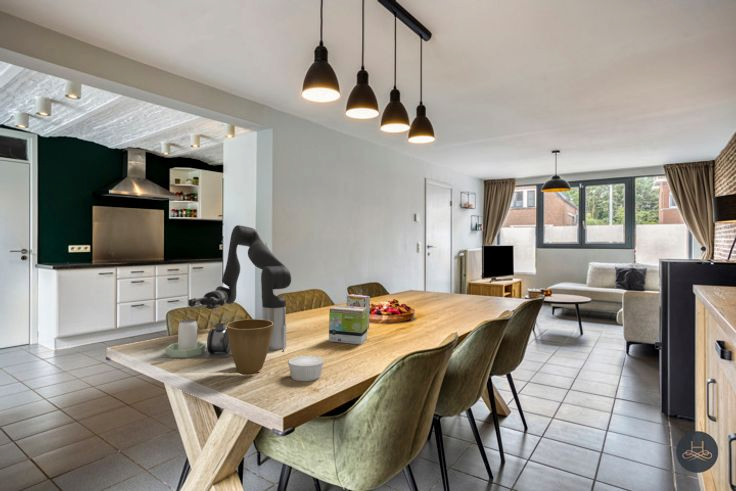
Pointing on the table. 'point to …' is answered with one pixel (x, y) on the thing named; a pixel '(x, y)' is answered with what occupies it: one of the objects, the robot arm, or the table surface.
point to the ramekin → (305, 368)
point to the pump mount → (192, 352)
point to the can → (187, 334)
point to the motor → (218, 339)
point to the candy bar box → (359, 303)
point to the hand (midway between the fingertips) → (201, 304)
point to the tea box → (348, 324)
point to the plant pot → (249, 343)
